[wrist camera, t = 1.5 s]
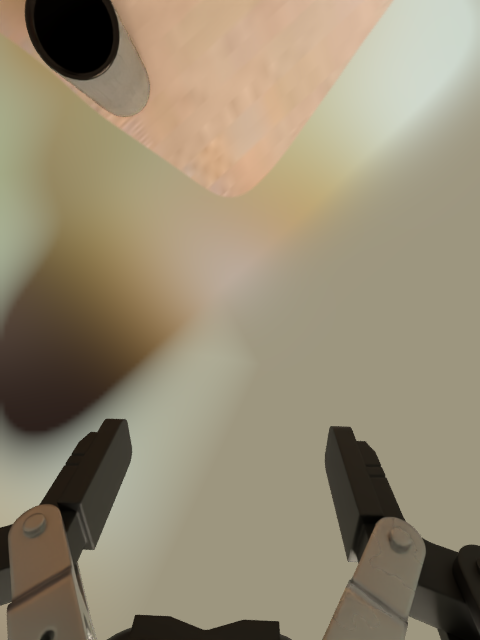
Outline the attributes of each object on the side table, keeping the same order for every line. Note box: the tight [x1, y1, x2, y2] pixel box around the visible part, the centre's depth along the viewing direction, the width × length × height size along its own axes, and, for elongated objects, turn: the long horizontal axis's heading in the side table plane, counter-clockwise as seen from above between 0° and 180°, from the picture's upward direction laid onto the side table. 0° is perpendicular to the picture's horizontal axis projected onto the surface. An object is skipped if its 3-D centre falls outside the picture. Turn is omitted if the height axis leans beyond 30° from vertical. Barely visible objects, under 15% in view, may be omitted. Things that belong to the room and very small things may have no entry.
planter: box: [25, 0, 150, 117], centre depth 21 cm, size 4×4×10 cm
